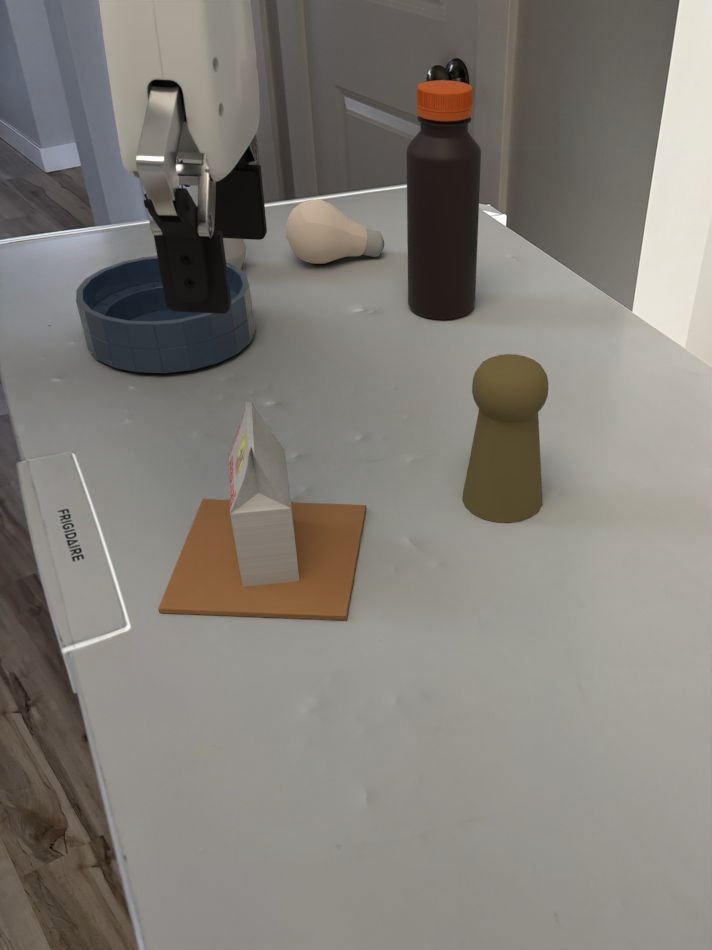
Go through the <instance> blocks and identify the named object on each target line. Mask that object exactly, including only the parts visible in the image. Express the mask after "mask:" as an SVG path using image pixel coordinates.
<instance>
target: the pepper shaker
mask: <svg viewBox="0 0 712 950" xmlns="http://www.w3.org/2000/svg"><path fill="white" fill-rule="evenodd" d="M471 387H472V388H471V393H472V397H473V401H474V403H475V405H476V406H477V408H478V413H477V418H476V423H475V429H474V432H473V433H474V434H473V438H472V439H473V440H472V443H471V449H470V454H469V460H468V464H467V470H466V475H465V480H464V486H463V491H462V497H461V498H462V499H461V500H462V502H463V505H464V507H465V509H467V510H468V511H469V512H470V513H471V514H472V515H474V516H476V517H478V518H480V519H481V520H486V521H489V522H490V521H491V522H494V523H505V524H506V523H508V524H509V523H515V522H523V521H524V520H527V519H529V518H532V517H533V516H535V515H536V514H537V513H538V512H540V510H541V508H542V506H543V505H544V503H543V501H544V500H543V481H542V460H541V446H540V445H541V443H540V442H541V441H540V423H539V412H540V411H541V410H542V409H543V407H544V405H545V403H546V402H547V398H548V394H549V379H548V374H547V372H546V371H545V369H544V367H543V365H541V364H540V363H539V362H538V361H536V360H535V359H532V358H530V357H528V356H525V355H520V354H515V353H505V354H504V353H503V354H497V355H495V356H491V357H488V358H487V359H485V360H483V361H482V362H481V363H480V365H479V366H478V367H477V369H476V370H475V371H474V374H473V377H472V385H471Z"/></svg>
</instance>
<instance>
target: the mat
mask: <svg viewBox="0 0 712 950" xmlns="http://www.w3.org/2000/svg"><path fill="white" fill-rule="evenodd" d="M291 507H292V515H293V524H294V534H295V543H296V553H297V562H298V572H299V581H296V582H287V583H277V584H268V585H258V586H249V587H243V586H242V580H241V574H240V568H239V563H238V557H237V551H236V545H235V539H234V534H233V528H232V522H231V516H230V499H220V498H219V499H217V498H215V499H214V498H202V499H201V501H200V504H199V507H198V509H197V512H196V515H195V517H194V520H193V522H192V525H191V527H190V530H189V532H188V534H187V537H186V539H185V541H184V544H183V547H182V549H181V551H180V554H179V556H178V558H177V561H176V564H175V566H174V568H173V571H172V573H171V577H170V579H169V581H168V584H167V586H166V589H165V591H164V593H163V595H162V597H161V601H160V603H159V606H158V613H159V614H177V615H178V614H179V615H200V616H201V615H205V616H227V617H228V616H229V617H253V618H276V619H277V618H278V619H301V620H302V619H303V620H327V621H328V620H331V621H347V620H348V614H349V610H350V602H351V599H352V593H353V586H354V580H355V575H356V570H357V564H358V558H359V551H360V547H361V540H362V535H363V529H364V524H365V518H366V512H367V505H366V504H353V503H352V504H349V503H348V504H347V503H346V504H345V503H326V502H325V503H323V502H322V503H321V502H319V503H318V502H300V501H299V502H297V501H291Z"/></svg>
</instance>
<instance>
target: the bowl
mask: <svg viewBox="0 0 712 950" xmlns="http://www.w3.org/2000/svg"><path fill="white" fill-rule="evenodd" d="M226 266H227V273H228V281H229V289H230V297H231V306H230V308H229V310H228V312H227V313H224V314H219V313H199V312H179V311H172V310H170V309H169V308H168V307H167V305H166V302H165V296H164V290H163V285H162V279H161V274H160V268H159V262H158V257H157V255H153V256H144V257H138V258H134V259H128V260H123V261H120V262H117V263H115V264H113V265H110V266H107V267H104V268H101V269H99V270H98V271H95V273H92V274H91V275H90V276H88V277H86V278H85V279H84V280H83V281H82V282H81V284H80V285H79V286H78V287H77V289H76V290H75V302H76V307H77V310H78V313H79V318H80V322H81V325H82V326H81V327H82V329H83V333H84V338H85V341H86V346H87V348H88V350H89V351H90V353H91V354H92V355H93V356H94V357H95V359H96V360H98V361H100V362H101V363H104V364H106V365H107V366H110V367H112V368H114V369H119V370H123V371H128V372H133V373H147V374H148V373H149V374H170V373H178V372H188V371H195V370H198V369H202V368H206V367H209V366H213V365H216V364H219V363H222V362H223V361H225V360H228V359H230V358H232V357H234V356H236V355H238V354H239V353H240V352H242V350H244V349H245V348H246V347H247V346H249V345H250V344H251V342H252V340H253V337H254V335H255V333H256V325H255V316H254V310H253V302H252V295H251V287H250V286H251V285H250V282H249V278H248V275H247V274H246V273H245V272H244V271H243V270H242V269H241V270H240V269H239V268H238V267H236V266H235V265H232V264H230V263H227V262H226Z"/></svg>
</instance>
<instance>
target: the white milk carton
mask: <svg viewBox="0 0 712 950" xmlns="http://www.w3.org/2000/svg"><path fill="white" fill-rule="evenodd" d="M244 399H245V400H244V408H243V412H242V415H241V416H242V417H241V419H240V423H239V426H238V429H237V431H236V434H235V436H234V439H233V441H232V444H231V447H230V450H229V452H228V477H229V478H228V480H229V481H228V483H229V500H230V516H231V522H232V528H233V534H234V539H235V545H236V551H237V557H238V563H239V568H240V574H241V580H242V586H243V587H249V586H258V585H268V584H277V583H287V582H296V581H299V572H298V562H297V553H296V543H295V534H294V524H293V515H292V507H291V502H292V499H291V491H290V481H289V473H288V465H287V457H286V449H285V448H284V446H283V445H282V443H281V442H280V441H279V440H278V438H277V437H276V435H275V434H274V432H273V431H272V429H271V428H270V427H269V426H268V425H267V423H266V422H265V421H264V419H263V417H262V415H261V414H260V413H259V411H258V409H257V407H256V406H255V403H254V400H253V397H250V399H249V402H248V399H247V397H245V398H244Z"/></svg>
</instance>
